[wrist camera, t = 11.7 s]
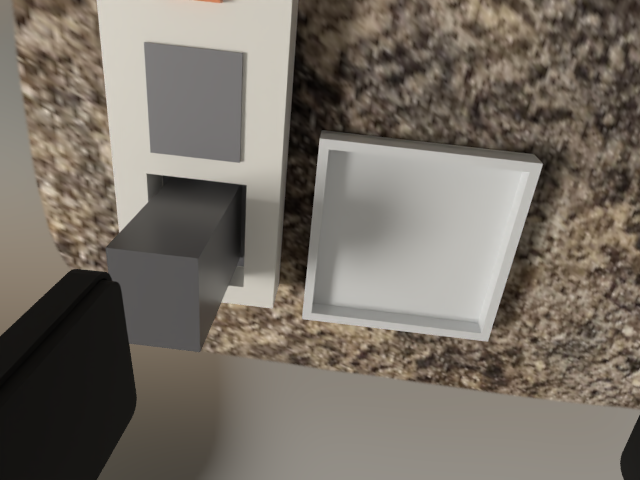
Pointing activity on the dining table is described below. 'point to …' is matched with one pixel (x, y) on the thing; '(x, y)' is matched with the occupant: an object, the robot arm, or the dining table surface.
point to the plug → (177, 261)
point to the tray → (414, 233)
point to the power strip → (204, 113)
